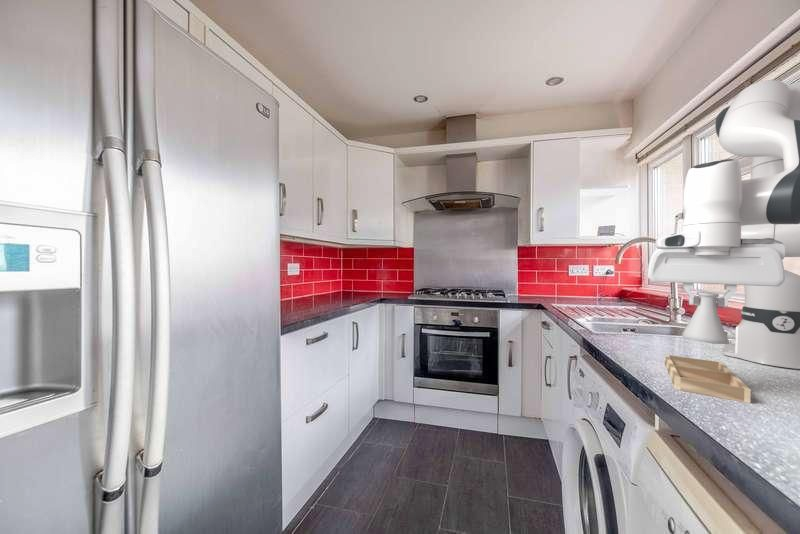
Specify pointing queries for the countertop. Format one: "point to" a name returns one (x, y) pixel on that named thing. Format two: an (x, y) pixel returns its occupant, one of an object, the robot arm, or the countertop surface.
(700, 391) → the oak caddy
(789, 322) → the robot arm
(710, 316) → the flask
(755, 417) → the countertop surface
